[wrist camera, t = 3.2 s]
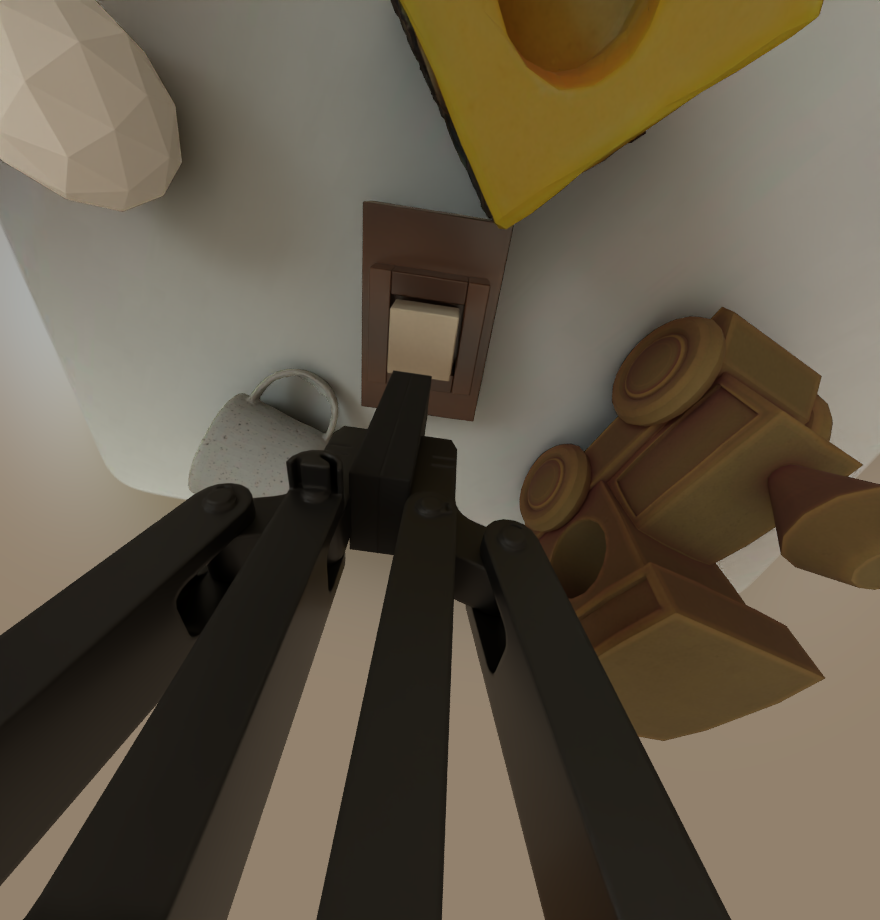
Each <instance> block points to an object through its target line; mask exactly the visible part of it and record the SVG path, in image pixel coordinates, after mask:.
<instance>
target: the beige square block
mask: <svg viewBox="0 0 880 920" xmlns="http://www.w3.org/2000/svg"><path fill="white" fill-rule="evenodd" d="M459 311H460V310H459V308H454V307H448V306H441V305H434V304H428V303H421V302H414V301H407V300H401V299H396V300H395V302H394V303H393V305H392V306H391V308H390V323H389V343H388V364H387V372H388V373H392V372H393V370H395V371H401V372H408V373H415V374H422V375H429V376H432V379H435V380H442V381H449V380H450V375H451V369H452V362H453V356H454V349H455V343H456V336H457V330H458V323H459Z"/></svg>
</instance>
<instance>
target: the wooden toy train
mask: <svg viewBox="0 0 880 920" xmlns="http://www.w3.org/2000/svg"><path fill="white" fill-rule="evenodd" d="M821 377H822V376H821V375H819V374H818V373H817V372H815V371H814V370H812V369H811V368H810V367H808V366H807V365H806V364H804V363H803V362H802V361H800V360H799V359H798V358H796V357H795V356H793V355H792V354H791V353H789V352H788V351H787V350H785V349H784V348H783V347H781V346H780V345H778V344H777V343H776V342H774V341H773V340H772V339H770V338H769V337H768V336H766V335H765V334H763V333H762V332H761V331H759V330H758V329H757V328H755V327H754V326H753V325H751V324H750V323H748V322H747V321H746V320H744V319H743V318H742V317H740V316H739V315H738V314H736V313H735V312H733V311H731V310H729V309H726V308H724V307H721V308H720V309H719V311H718V312H717V313H716V314H715V315H714V316H713V317H712V318H711V319H708V318H703V317H694V316H689V317H684V318H680V319H676V320H673V321H670V322H668V323H666V324H664V325H662V326H660V327H658V328H657V329H655V330H654V331H653V332H651V333H650V334H649V335H647V336H646V337H645V338H644V339H643V340H642V341H641V342H640V343H639V344H638V345H637V346H636V347H635V348H634V349H633V350H632V351H631V352H630V354H629V355H628V356H627V358H626V359H625V360H624V362H623V364H622V365H621V367H620V369H619V371H618V373H617V375H616V378H615V381H614V384H613V392H612V403H613V406H614V408H615V411H616V413H617V415H618V417H617V418H616V419H615V420H614V421H613V422H612V423H611V424H610V425H609V426H608V427H607V428H606V430H605V431H604V432H603V433H602V434H601V435H600V436H599V437H598V438H597V439H596V440H595V441H594V442H593V443H592V444H591V445H590V446H589V447H588V448H587V450H586V451H585V452H583V450H582V449H581V448H580V447H579V446H576V445H573V444H562V445H558V446H555V447H552V448H551V449H549V450H547V451H546V452H544V453H543V454H542V455H541V456H540V457H539V458H538V459H537V460H536V462H535V463H534V464H533V466H532V467H531V468H530V470H529V472H528V474H527V476H526V478H525V480H524V483H523V486H522V489H521V494H520V511H521V514H522V517H523V520H524V521H525V526H526V527H528V528H529V529H531V530H532V531H533V533H534V534H535V535H536V536H537V538H538V540H539V542H540V543H541V545H542V547H543V549H544V551H545V553H546V555H547V557H548V559H549V561H550V563H551V565H552V567H553V569H554V571H555V573H556V575H557V577H558V579H559V581H560V583H561V585H562V587H563V589H564V591H565V593H566V595H567V597H568V599H569V601H570V603H571V605H572V607H573V609H574V611H575V613H576V615H577V617H578V618H579V620H580V622H581V624H582V626H583V628H584V630H585V632H586V634H587V636H588V638H589V640H590V642H591V644H592V646H593V648H594V650H595V652H596V654H597V656H598V658H599V660H600V662H601V664H602V666H603V668H604V670H605V672H606V674H607V676H608V678H609V680H610V682H611V684H612V686H613V688H614V690H615V692H616V693H617V695H618V697H619V699H620V701H621V703H622V705H623V707H624V709H625V711H626V713H627V715H628V717H629V719H630V721H631V723H632V725H633V727H634V729H635V731H636V733H637V735H638V737H645V738H650V739H656V740H661V741H665V740H669V739H673V738H677V737H681V736H685V735H689V734H693V733H698V732H702V731H706V730H709V729H711V728H714V727H717V726H719V725H722V724H724V723H727V722H730V721H733V720H735V719H738V718H741V717H743V716H745V715H748V714H751V713H754V712H756V711H759V710H762V709H764V708H767V707H770V706H772V705H775V704H778V703H780V702H782V701H783V700H785V699H787V698H789V697H791V696H793V695H795V694H797V693H798V692H800V691H802V690H804V689H806V688H808V687H810V686H811V685H813V684H815V683H817V682H819V681H821V680H823V679H825V677H824V676H823V674H822V673H821V672H820V670H819V669H818V668H817V666H816V665H815V664H814V662H813V661H812V660H811V658H810V657H809V656H808V654H807V653H806V652H805V650H804V649H803V648H802V646H801V645H800V644H799V642H798V641H797V640H796V638H795V637H794V636H793V634H792V633H791V632H790V630H789V629H788V628H787V626H785V625H784V624H782V623H780V622H778V621H776V620H774V619H772V618H770V617H768V616H767V615H765V614H763V613H761V612H759V611H757V610H755V609H753V608H751V607H749V606H747V605H746V604H745V603H744V601H743V600H742V598H741V597H740V596H739V594H738V593H737V591H736V590H735V588H734V587H733V586H732V584H731V583H730V582H729V580H728V579H727V578H726V576H725V575H724V574H723V572H722V571H721V570H720V568H719V567H718V566H717V564H716V562H718V561H720V560H722V559H724V558H725V557H727V556H729V555H731V554H733V553H735V552H736V551H738V550H740V549H742V548H744V547H745V546H747V545H749V544H750V543H752V542H753V541H755V540H757V539H758V538H760V537H761V536H763V535H764V534H766V533H767V532H769V531H770V530H772V529H773V528H775V527H776V531H777V536H778V541H779V547H780V552H781V555H782V556H783V557H784V558H785V559H787V560H788V561H789V562H790V563H791V564H792V565H794V566H795V567H797V568H800V569H803V570H806V571H809V572H812V573H815V574H818V575H821V576H824V577H827V578H831V579H834V580H837V581H840V582H843V583H846V584H849V585H852V586H855V587H858V588H865V589H873V590H876V589H880V484H876V483H872V482H868V481H863V480H859V479H855V478H850V477H848V476H849V475H850V474H852V473H853V472H854V471H856V470H857V469H858V468H860V467H861V466H862V465H863V464H861V463H860V462H858V461H857V460H855V459H854V458H852V457H851V456H849V455H848V454H846V453H845V452H843V451H842V450H841V449H839V448H838V447H836V446H835V445H833V444H832V443H830V442H829V440H830V436H831V430H832V425H833V422H832V416H831V413H830V410H829V407H828V404H827V403H826V402H825V401H824V400H823V399H822V398H821V397H820V396H819V395H817V392H818V388H819V384H820V381H821Z"/></svg>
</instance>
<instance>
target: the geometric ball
mask: <svg viewBox="0 0 880 920" xmlns="http://www.w3.org/2000/svg"><path fill="white" fill-rule="evenodd" d="M0 159H1V160H2V161H3V162H5V163H7V164H8V165H10V166H12V167H13V168H15V169H17V170H18V171H20V172H22V173H23V174H25V175H27V176H29V177H30V178H32V179H34V180H35V181H37V182H39V183H40V184H42V185H44V186H45V187H47V188H49V189H50V190H52V191H54V192H55V193H57V194H59V195H60V196H62V197H64V198H65V199H68V200H72V201H77V202H81V203H85V204H90V205H94V206H99V207H103V208H108V209H112V210H117V211H121V212H123V211H126V210H128V209H131V208H133V207H136V206H138V205H141V204H144V203H146V202H149V201H151V200H154V199H156V198H159V197H161V196H164V194H165V192H166V190H167V188H168V187H169V185H170V183H171V181H172V179H173V178H174V176H175V174H176V172H177V170H178V169H179V167H180V165H181V163H182V158H181V149H180V141H179V132H178V124H177V115H176V107H175V104H174V102H173V101H172V99H171V97H170V95H169V94H168V92H167V90H166V88H165V87H164V85H163V83H162V81H161V80H160V78H159V76H158V74H157V73H156V71H155V69H154V68H153V66H152V64H151V62H150V61H149V59H148V57H147V55H146V54H145V52H144V51H143V50H142V49H141V48H140V47H139V46H138V45H137V44H136V42H135V41H134V40H133V39H132V38H131V37H130V36H129V35H128V34H127V33H126V32H125V31H124V30H123V29H122V28H121V27H120V26H119V25H118V24H117V23H116V22H115V20H114V19H113V18H112V17H111V16H110V15H109V14H108V13H107V12H106V11H105V10H104V9H103V8H102V7H101V6H100V5H99V4H98V3H97V2H96V1H95V0H0Z"/></svg>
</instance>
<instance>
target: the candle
mask: <svg viewBox="0 0 880 920" xmlns="http://www.w3.org/2000/svg"><path fill="white" fill-rule="evenodd" d="M391 3H392V5H393V8H394V11H395V13H396V15H397V16H398V17H399V19H400V21H401V25H402V28H403V30H404V32H405V34H406V35H407V40H408V43H409V45H410V47H411V50H412V52H413V54H414V56H415V58H416V60H417V61H418V62H419V66H420V70H421V71H422V73H423V76H424V78H425V80H426V82H427V84H428V87H429V89H430V91H431V94H432V96H433V99H434V101H435V102H436V103H437V105H438V107H439V110H440V113H441V116H442V117H443V118H444V119H445V122H446V125H447V129H448V131H449V134H450V136H451V139H452V141H453V144H454V146H455V149H456V151H457V153H458V155H459V157H460V160H461V162H462V163H463V165H464V167H465V168H466V170H467V172H468V174H469V177H470V179H471V182H472V184H473V187H474V188H475V190H476V192H477V195H478V197H479V200H480V203H481V207H482V209H483V210H484V212H485V213H486V215H487V216H488V217H489V218H492V221H493V223H494V224H496V225H497V226H498V228H499V229H508V228H509V227H511V226H512V225H514V224H516V223H517V222H519V221H520V220H522V219H523V218H525V217H527V216H528V215H530V214H531V213H533V212H534V211H535V210H537V209H538V208H539V207H541V206H542V205H543V204H544V203H546V202H547V201H548V200H550V199H551V198H552V197H553V196H555V195H556V194H557V193H559V192H560V191H561V190H562V189H564V188H565V187H566V186H567V185H568V184H569V183H570V182H572V181H573V180H574V179H575V178H576V177H577V176H579V175H580V174H581V173H583V172H585V171H586V170H588V169H590V168H592V167H594V166H595V165H597V164H599V163H601V162H603V161H604V160H606V159H607V158H608V157H609V156H611V155H612V154H613V153H614V152H616V151H617V150H618V149H620V148H621V147H623V146H624V145H626V144H627V143H632V142H633V141H635V140H636V139H638V138H639V137H641V136H643V135H644V134H646V130H647V129H649V128H650V127H652V126H653V125H655V124H656V123H657V122H659V121H660V120H662V119H663V118H665V117H666V116H668V115H669V114H670V113H672V112H673V111H675V110H676V109H678V108H679V107H681V106H682V105H683V104H685V103H686V102H688V101H689V100H691V99H692V98H694V97H695V96H696V95H698V94H699V93H701V92H703V91H704V90H706V89H708V88H710V87H711V86H713V85H715V84H716V83H718V82H720V81H721V80H723V79H725V78H727V77H728V76H730V75H732V74H733V73H735V72H737V71H739V70H740V69H742V68H743V67H745V66H747V65H748V64H750V63H751V62H753V61H754V60H756V59H757V58H759V57H761V56H762V55H764V54H765V53H767V52H768V51H770V50H772V49H773V48H775V47H776V46H778V45H779V44H781V43H783V42H784V41H786V40H787V39H789V38H790V37H792V36H793V35H795V34H796V33H797V32H799V31H800V30H801V29H803V28H804V27H805V26H807V25H808V24H809V23H811V22H812V21H813V20H815V19H816V18H817V17H818V16H819V14H820V11H821V7H822V4H823V0H391Z"/></svg>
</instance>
